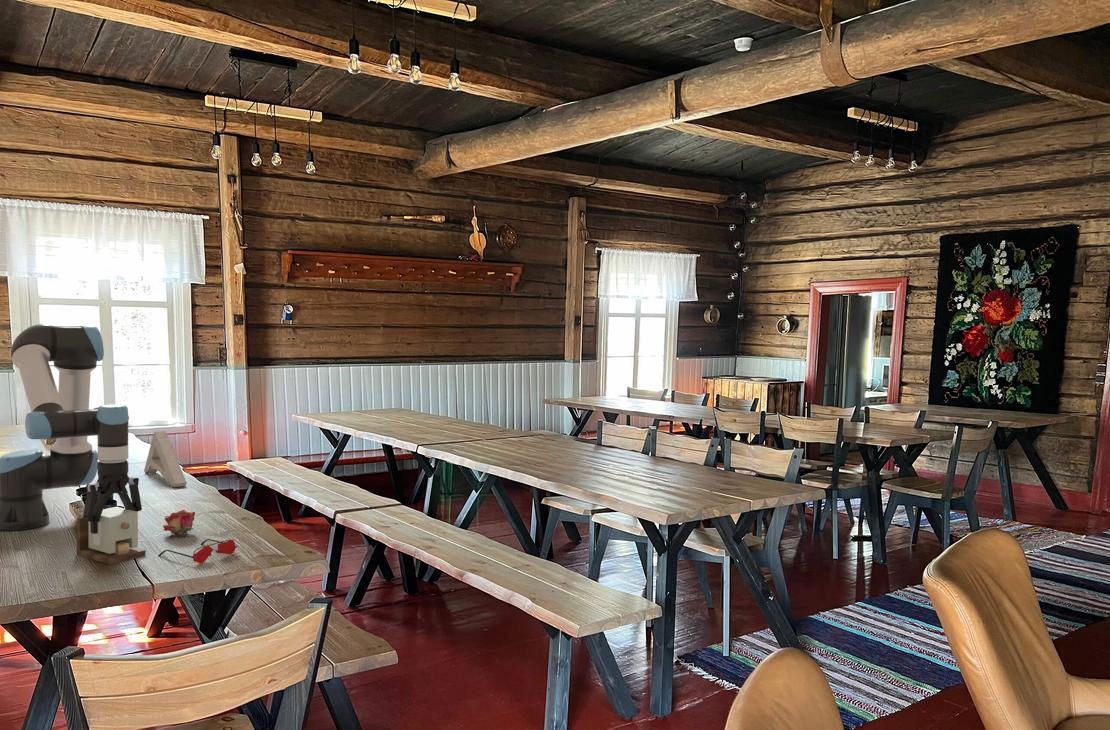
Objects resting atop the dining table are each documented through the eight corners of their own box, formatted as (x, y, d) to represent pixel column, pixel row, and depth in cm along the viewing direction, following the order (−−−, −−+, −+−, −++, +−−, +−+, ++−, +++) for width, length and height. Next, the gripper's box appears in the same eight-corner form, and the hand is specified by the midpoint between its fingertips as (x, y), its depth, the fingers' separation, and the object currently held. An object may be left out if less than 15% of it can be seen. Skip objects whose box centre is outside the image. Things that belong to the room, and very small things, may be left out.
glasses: (194, 567, 211) (194, 549, 211) (157, 557, 219) (157, 539, 219) (238, 555, 223) (238, 537, 223) (201, 545, 231) (201, 528, 231)
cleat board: (76, 554, 218) (76, 517, 217) (112, 545, 227) (112, 510, 226) (110, 564, 210) (110, 526, 210) (145, 555, 219) (145, 518, 218)
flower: (205, 530, 240) (200, 506, 243) (178, 530, 232) (173, 506, 235) (186, 543, 243) (181, 520, 246) (158, 544, 235) (154, 520, 238)
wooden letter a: (163, 523, 312) (143, 470, 328) (175, 521, 315) (155, 469, 331) (174, 484, 302) (154, 432, 318) (186, 482, 305) (165, 431, 321)
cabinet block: (88, 547, 217) (88, 512, 216) (116, 540, 224) (116, 506, 223) (112, 554, 211) (112, 518, 211) (140, 547, 218) (140, 512, 218)
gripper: (140, 453, 227) (140, 530, 229) (66, 464, 209) (67, 547, 210) (156, 456, 224) (156, 534, 225) (82, 467, 205) (82, 552, 207)
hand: (113, 540), depth 218 cm, fingers closed on cabinet block, 8 cm apart
